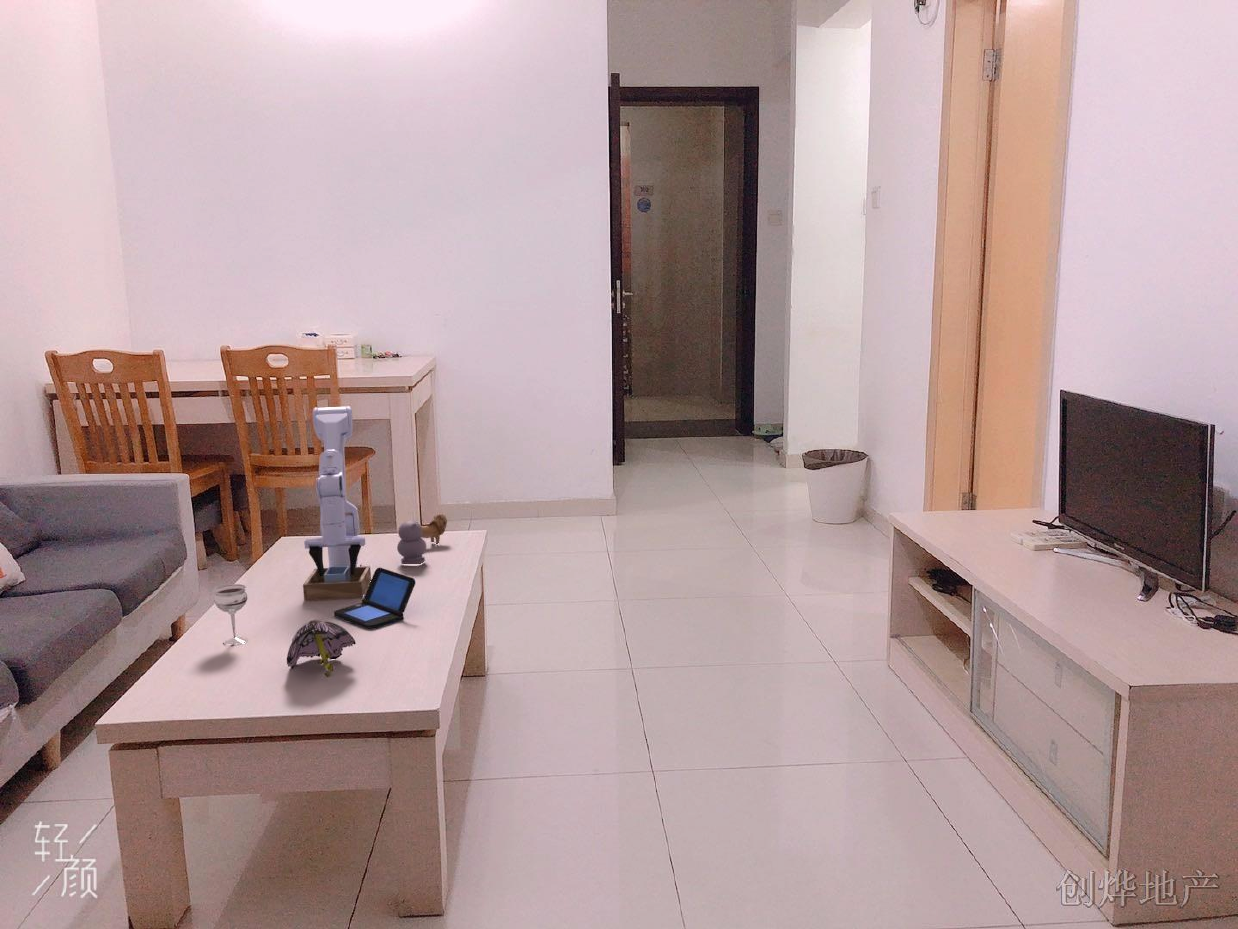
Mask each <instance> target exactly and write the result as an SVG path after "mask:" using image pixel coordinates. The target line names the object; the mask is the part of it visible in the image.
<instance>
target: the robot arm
mask: <svg viewBox="0 0 1238 929" xmlns="http://www.w3.org/2000/svg"><path fill="white" fill-rule="evenodd" d="M353 422H354V421H353V410H352V407H350V405H346V406H335V407H334V406H333V407H330V406H329V407H314V408H313V409H312V424H313V429H314V431H315V432H314V433H315V435H316V436H317V439H318V440H320V441H322V442H323V448H324V449H323V451H322V452H321V454H320V455H319V457H318V458H319V460H318V462H319V464H318V477H316V479H315V480H316V482H315V486H316V487H315V488H316V495H317V498H318V505H319V506H320V508H319V509H320V510H319V511H320V520H319V521H320V522H319V525H320V526H319V528H320V529H319V530H320V535H321V537H318V538H317V537H316V538H306V539H305V540H304V541H303V542H304V549H306V550H307V549H308V554H309V556H310V557H311V559H312V560H313V562H314V563H315V566H316V569H318V572H319V575H320V576H323V575H324V568H325V567H324V562H323V560H324V559H323V552H324V551H323V548H327V556H328V566H329V567H338V566H349V567H350V572H351V575H354V573H355V567H357V564H358V562H359V560H358V557H359V554H360V551H361V550H362V547H365V545H366V536H359V535H360V527H361V526H360V516H359V509H358V508H357V506H356V505H354V504H353V503H351V502H349V501H348V497H347V495H348V494H347V476H346V457H345V455H346V454H345V446H346V442H347V440H349V439H351V438H353V434H354V429H353V428H354V426H353ZM361 563H362V562H361ZM361 563H360V564H361ZM361 565H362V564H361ZM329 567H328V568H329ZM358 567H359V566H358Z"/></svg>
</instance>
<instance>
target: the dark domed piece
mask: <svg viewBox="0 0 1238 929" xmlns="http://www.w3.org/2000/svg"><path fill="white" fill-rule="evenodd" d="M356 644H357V643H356V640H355V638H354V637H353V636H352V635H351V633H349V631H347V630H346V629H345V628H344V627H342V626H340V625H339V624H337V623H334V622H330V621H321V620H319V619H313V620H310V621H309V622H308V623H306V624H305V625H303V626H301V627H300V628H299V629H298V630H297V632H296V633H295V634H294V636H293V638H292V639H291V644H290V646H289V648H288V650H287V651H288V652H287V655H286V665H287V667H288V668H289V667H290V668H291V669H292V670H294V667H295V665H296V664H297V663H298V662H299V661H298V660H299V659H300V658H305V657H306V658H311V659H312V658H313V657H319V659H318V660H317V663H318V665H323V666H325V669H326V671H325V672H324V675H326V676H325V677H328V676H327V675H330V676H331V672H332V671H333V670H334V664H333V663H330V661H329V660H331V659H335V660H336V659H338V658H340V657H341V656H342V655H343V654H342V653H343V652H342V651H343V650H344V649H343V648H346V647H353V645H356ZM320 657H321V658H320Z"/></svg>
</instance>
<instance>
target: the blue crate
mask: <svg viewBox="0 0 1238 929" xmlns="http://www.w3.org/2000/svg"><path fill="white" fill-rule="evenodd" d="M327 568H328V570H327V571H326V573H325V574H324V583H335V582H351V580H350V567H349V566H338V567H327Z"/></svg>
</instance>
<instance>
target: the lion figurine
mask: <svg viewBox="0 0 1238 929" xmlns="http://www.w3.org/2000/svg"><path fill="white" fill-rule="evenodd" d="M447 525H448V519H447V517H446V514H444V513H437V514H436V515H434V516H433V519H432V520H431V521H430V522H429V524H427V525H421V526H422V529H423V534H422V537H421V538H422V539H430V543H431V542H434V543H436V544H438V543H439V544H440V538H441V536H442V535H443V534H445V531H446V528H447ZM436 544H435V545H436Z"/></svg>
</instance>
